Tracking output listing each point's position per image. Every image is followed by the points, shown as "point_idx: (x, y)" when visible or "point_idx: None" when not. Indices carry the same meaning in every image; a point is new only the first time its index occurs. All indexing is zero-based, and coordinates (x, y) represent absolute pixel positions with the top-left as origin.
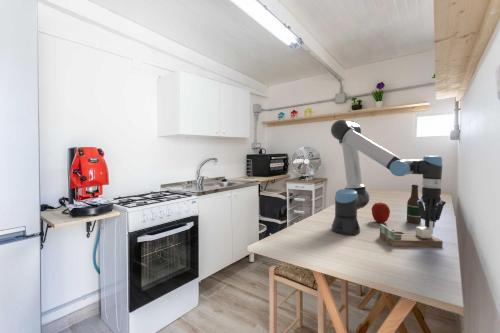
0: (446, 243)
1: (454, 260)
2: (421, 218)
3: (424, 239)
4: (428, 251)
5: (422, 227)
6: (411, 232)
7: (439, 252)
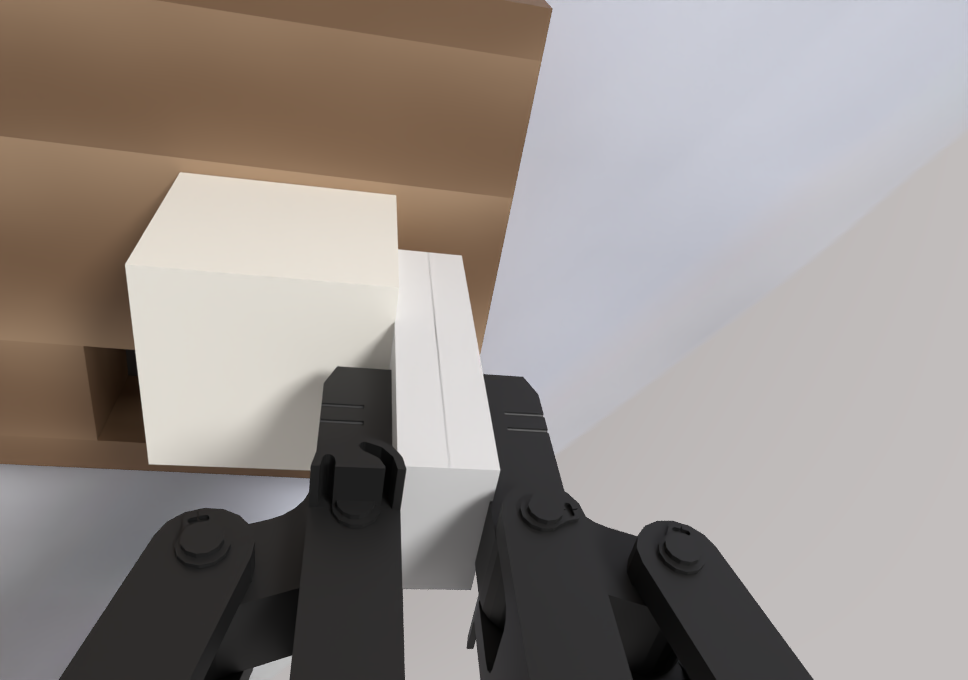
0: (641, 303)
1: (283, 666)
2: (167, 543)
3: None
4: (143, 516)
5: (274, 333)
6: (145, 21)
7: None
